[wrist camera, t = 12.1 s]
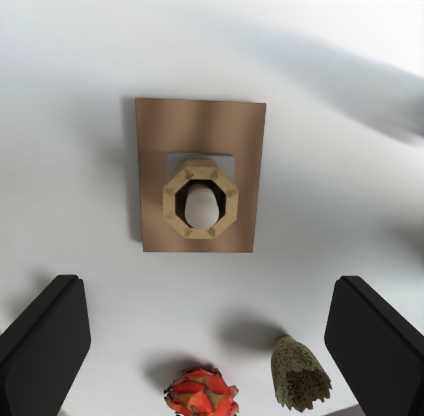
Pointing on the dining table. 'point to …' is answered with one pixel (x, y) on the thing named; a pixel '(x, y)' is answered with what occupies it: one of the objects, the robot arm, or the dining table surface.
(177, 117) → the shaft stand
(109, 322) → the dining table surface
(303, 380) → the cup
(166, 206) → the hub
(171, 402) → the dragon fruit
